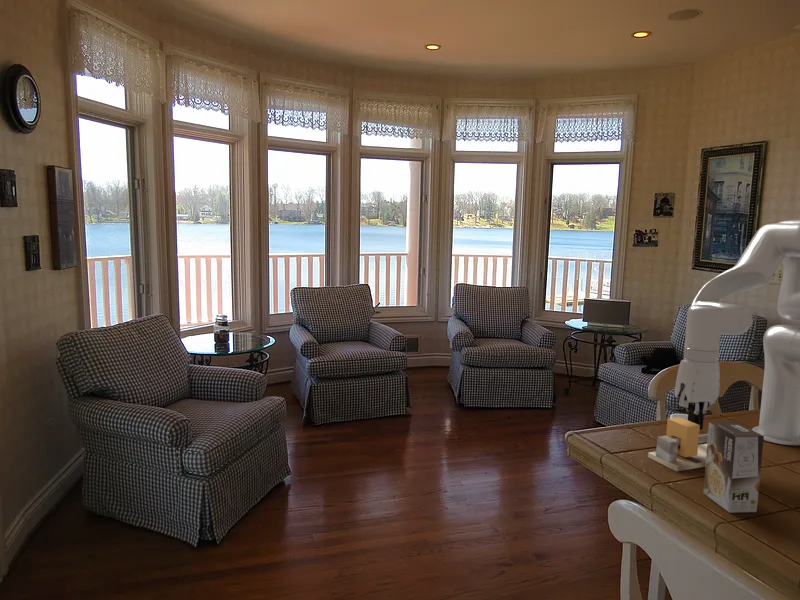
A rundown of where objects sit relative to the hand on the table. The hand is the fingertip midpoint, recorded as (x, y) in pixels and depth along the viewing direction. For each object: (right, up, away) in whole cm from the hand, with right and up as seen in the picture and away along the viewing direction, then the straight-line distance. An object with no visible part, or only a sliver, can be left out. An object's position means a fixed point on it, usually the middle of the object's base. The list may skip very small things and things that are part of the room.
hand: (694, 428), depth 141 cm
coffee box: (-4, -11, -22) cm, 25 cm away
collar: (-4, -6, -1) cm, 7 cm away
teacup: (+5, -7, +16) cm, 18 cm away
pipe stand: (0, -8, +1) cm, 8 cm away
